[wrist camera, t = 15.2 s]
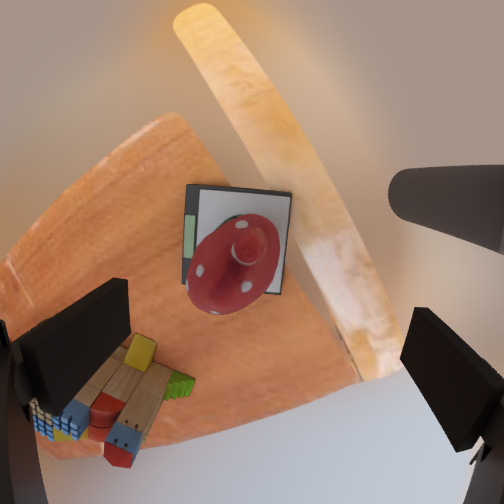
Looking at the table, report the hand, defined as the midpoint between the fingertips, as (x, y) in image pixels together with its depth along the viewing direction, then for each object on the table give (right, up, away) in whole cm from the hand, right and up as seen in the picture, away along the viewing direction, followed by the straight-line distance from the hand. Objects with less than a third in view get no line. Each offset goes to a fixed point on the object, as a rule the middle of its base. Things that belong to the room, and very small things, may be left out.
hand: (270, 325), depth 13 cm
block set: (-23, -14, +30) cm, 40 cm away
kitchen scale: (-3, +5, +24) cm, 25 cm away
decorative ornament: (-2, +4, +22) cm, 22 cm away
